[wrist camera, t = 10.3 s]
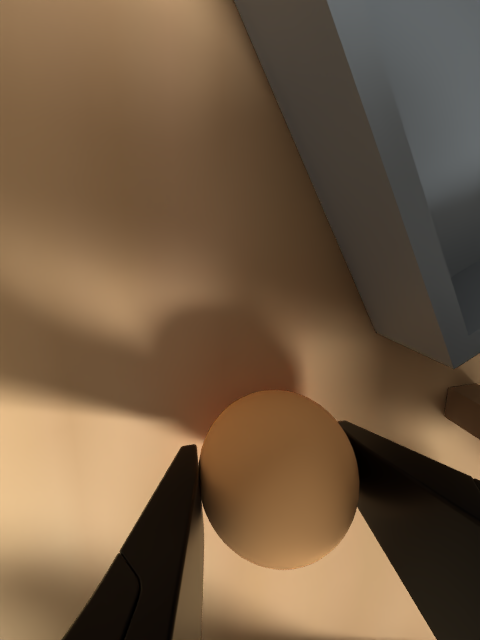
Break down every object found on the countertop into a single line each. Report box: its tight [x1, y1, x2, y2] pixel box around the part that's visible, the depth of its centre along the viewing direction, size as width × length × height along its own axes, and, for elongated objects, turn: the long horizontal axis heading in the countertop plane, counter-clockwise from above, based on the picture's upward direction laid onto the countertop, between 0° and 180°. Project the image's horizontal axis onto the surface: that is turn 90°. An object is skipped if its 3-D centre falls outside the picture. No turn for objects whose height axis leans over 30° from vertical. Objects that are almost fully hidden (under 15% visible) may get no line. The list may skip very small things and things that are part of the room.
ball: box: [199, 390, 359, 570], centre depth 8 cm, size 4×4×4 cm
